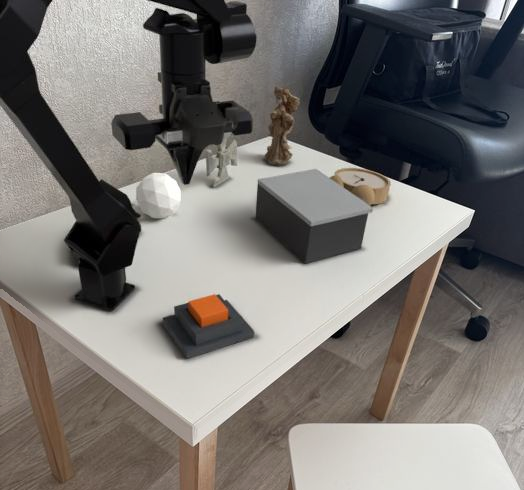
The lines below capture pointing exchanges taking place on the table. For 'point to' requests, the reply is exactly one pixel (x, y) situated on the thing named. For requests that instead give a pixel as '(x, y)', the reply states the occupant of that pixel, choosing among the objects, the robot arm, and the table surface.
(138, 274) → the table surface
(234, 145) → the cross
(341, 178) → the alarm clock
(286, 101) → the figurine
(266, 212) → the open storage box
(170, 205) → the geometric ball
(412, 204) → the table surface
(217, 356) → the table surface
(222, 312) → the button
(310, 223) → the lid
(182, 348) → the block
